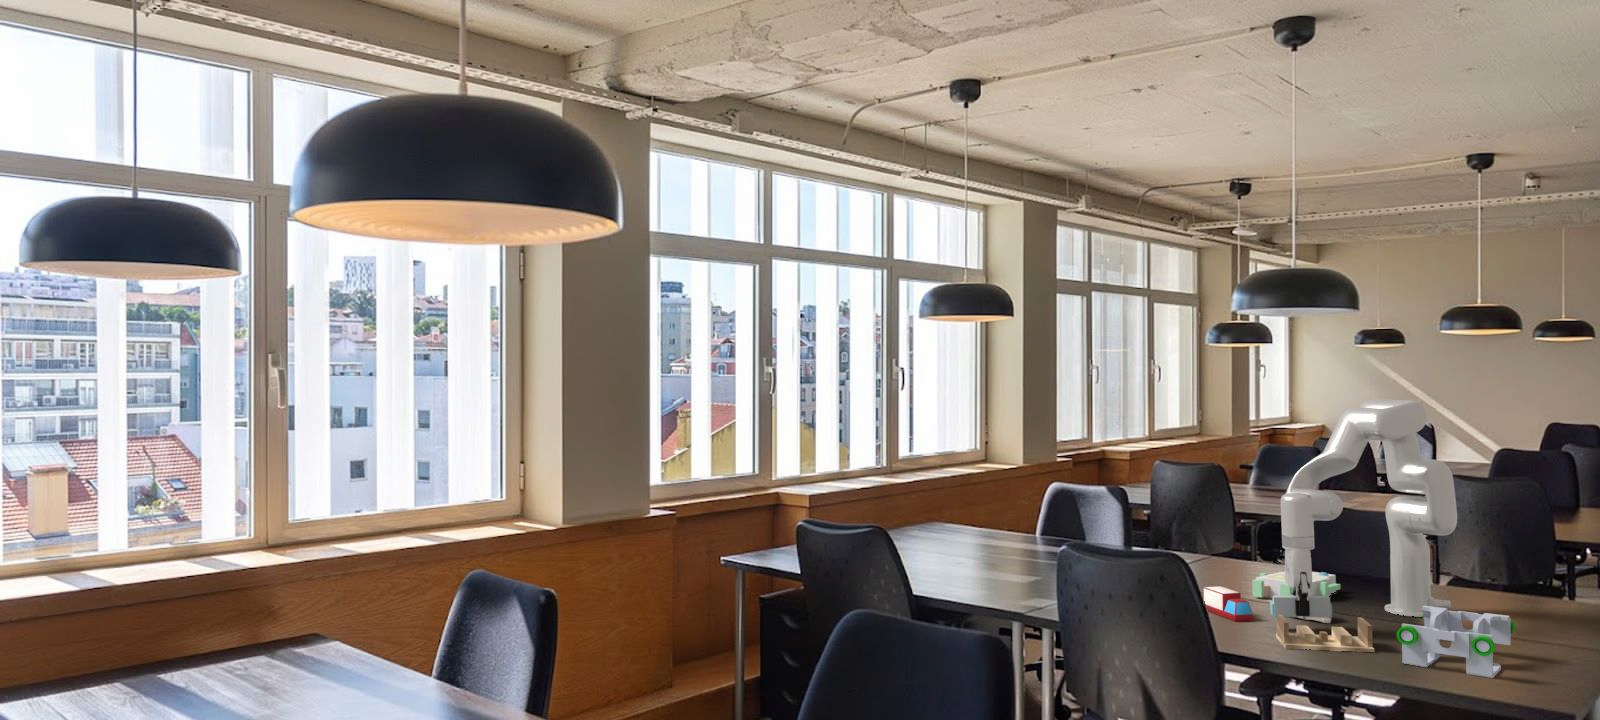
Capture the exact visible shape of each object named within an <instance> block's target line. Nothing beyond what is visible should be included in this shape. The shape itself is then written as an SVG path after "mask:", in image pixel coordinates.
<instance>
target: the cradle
mask: <svg viewBox="0 0 1600 720" xmlns="http://www.w3.org/2000/svg"><path fill="white" fill-rule="evenodd" d="M1289 624H1290V623H1289V621H1288V620H1287V619H1286V617H1283V616H1282V615H1281V614H1277V617H1276V633H1275V638H1276V639H1277V640H1278V641H1279V643H1280V644H1281V645H1282V646H1283V648H1284V649H1285V650H1297V649H1304V650H1305V649H1307V650H1305V651H1319V650H1330V651H1329V652H1341V651H1353V652H1352V653H1355V652H1354V651H1358V652H1357V653H1363V652H1374V653H1375V648H1374V647H1373V625H1372V624H1370V623H1369V622H1368V621H1367V620H1365V619H1364V618H1363V617H1357V636H1354V635H1353V636H1352V634H1350V633H1349V631H1347V630H1346V629H1345V628H1344V627H1343V626H1331V634H1328V632H1326V631H1323V630H1320V631H1318V634H1316V633H1315V632H1314V630H1312V629H1311V628H1310V627H1309V626H1308V625H1304V624H1303V625H1301V624H1300V625H1299V624H1298V625H1296V633H1289V632H1290V631H1289V630H1290V629H1289ZM1309 649H1311V650H1309ZM1304 650H1303V651H1304Z"/></svg>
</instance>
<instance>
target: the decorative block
mask: <svg viewBox="0 0 1600 720" xmlns="http://www.w3.org/2000/svg"><path fill="white" fill-rule="evenodd" d="M1336 577H1337V576H1336V574H1330V573H1327V572H1325V571H1324V572H1323V571H1321V572H1318V571H1312V587H1311V588H1310V589H1309V588H1308V592H1309V596H1330V595H1331V596H1332V594H1331V593H1334V592H1336V593H1337V591H1339V590H1341V583H1337V580H1336ZM1251 584H1252V585H1251V586H1252V588H1251V589H1252V592H1251V593H1252V595H1251V596H1252V597H1258V598H1267V597H1269V598H1268V599H1273V596H1289V595H1292V588H1291V587H1290V586H1289V585H1288V584H1287V583H1286V582H1285V570H1284V571H1280V572H1279V571H1278V572H1275V573H1269V574H1268V573H1267V572H1260V573H1259V576H1256V577H1255V578H1254V579H1252V580H1251ZM1334 594H1335V593H1334ZM1331 596H1330V597H1331Z"/></svg>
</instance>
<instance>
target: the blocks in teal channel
mask: <svg viewBox="0 0 1600 720" xmlns="http://www.w3.org/2000/svg"><path fill="white" fill-rule="evenodd" d="M1295 600H1297V598H1296V596H1273V598H1272V600H1270V601H1269V611H1270V612H1269V613H1270V616H1272V617H1274V618H1277V614H1281V615H1282V616H1283V617H1284V618H1297V617H1298V616H1297V615H1296V606H1295ZM1309 606H1310V616H1306V617H1322V618H1331V617H1332V618H1333V612H1332V610H1333V606H1332V603H1331V596H1330V597H1329V596H1309Z"/></svg>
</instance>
